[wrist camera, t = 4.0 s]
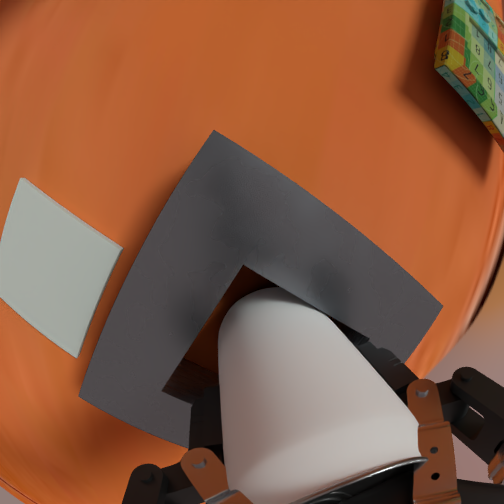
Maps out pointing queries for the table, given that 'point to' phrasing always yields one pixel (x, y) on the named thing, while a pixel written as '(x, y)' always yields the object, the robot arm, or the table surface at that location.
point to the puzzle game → (474, 59)
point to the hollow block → (223, 273)
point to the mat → (53, 267)
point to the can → (304, 406)
